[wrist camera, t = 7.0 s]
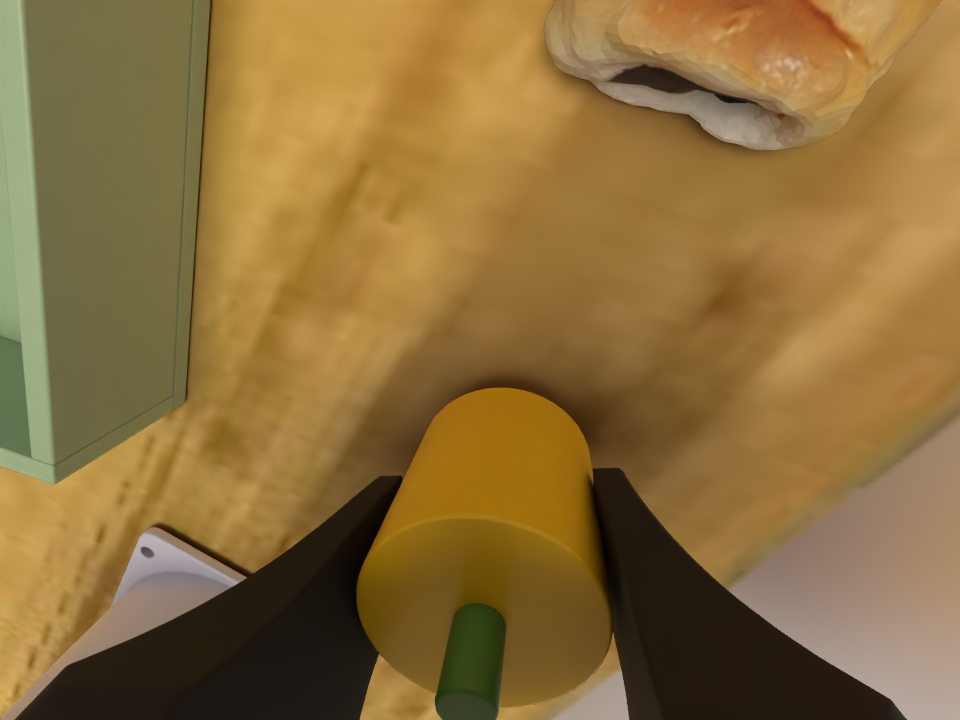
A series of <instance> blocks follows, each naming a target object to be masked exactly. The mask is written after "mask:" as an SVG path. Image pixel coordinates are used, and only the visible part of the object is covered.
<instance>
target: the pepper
mask: <svg viewBox="0 0 960 720" xmlns="http://www.w3.org/2000/svg"><path fill="white" fill-rule="evenodd" d="M356 602H357V609H358V615H359V618H360V621H361V624H362V627H363V629H364V631H365V633H366V635H367V637H368V638H369V640H370V641H371V643H372V644H373V646H374V647H375V649H376V650H377V651H378V652H379V654H380V655H381V656H382V657H383V658H384V659H385V660H386V661H387V662H388V663H389V664H390V665H391V666H392V667H393V668H394V669H396V670H397V671H398V672H399V673H401V674H402V675H403V676H405V677H406V678H408V679H409V680H411V681H412V682H414V683H416V684H417V685H419V686H421V687H423V688H425V689H427V690H429V691H431V692H433V693H436V697H435V706H436V711H437V713H438V715H439V716H440V717H441V719H442V720H496V718H497V716H498V712H499V707H502V708H508V707H523V706H530V705H536V704H540V703H544V702H547V701H551V700H553V699H556V698H559V697H561V696H563V695H565V694H567V693H569V692H571V691H573V690H575V689H576V688H577V687H579V686H580V685H582V684H583V683H584V682H586V681H587V680H588V679H589V678H590V677H591V676H592V675H593V674H594V673H595V672H596V670H597V669H598V668H599V666H600V665H601V664H602V662H603V660H604V658H605V656H606V654H607V652H608V649H609V646H610V643H611V639H612V633H613V614H612V606H611V599H610V592H609V585H608V578H607V571H606V564H605V557H604V550H603V543H602V536H601V530H600V525H599V520H598V514H597V507H596V500H595V493H594V484H593V472H592V465H591V458H590V453H589V449H588V445H587V442H586V440H585V437H584V435H583V434H582V432H581V430H580V428H579V427H578V425H577V424H576V423H575V422H574V420H573V419H572V418H571V417H570V416H569V415H568V414H567V413H566V412H565V411H564V410H563V409H561V408H560V407H558V406H557V405H556V404H554V403H553V402H551V401H549V400H547V399H546V398H544V397H541V396H539V395H537V394H534V393H531V392H528V391H524V390H520V389H513V388H487V389H482V390H478V391H474V392H471V393H468V394H465V395H463V396H461V397H459V398H457V399H455V400H454V401H452V402H451V403H449V404H448V405H446V406H445V407H444V408H443V409H442V410H441V411H440V412H439V413H438V414H437V415H436V417H435V418H434V419H433V420H432V422H431V424H430V426H429V427H428V429H427V431H426V433H425V435H424V438H423V440H422V442H421V444H420V446H419V448H418V450H417V452H416V454H415V456H414V458H413V461H412V463H411V465H410V467H409V469H408V471H407V473H406V475H405V477H404V479H403V481H402V484H401V486H400V488H399V490H398V492H397V494H396V496H395V498H394V500H393V502H392V504H391V507H390V509H389V511H388V513H387V515H386V517H385V519H384V521H383V523H382V525H381V528H380V530H379V532H378V534H377V536H376V538H375V540H374V542H373V544H372V546H371V548H370V551H369V553H368V555H367V557H366V559H365V561H364V563H363V565H362V568H361V571H360V573H359V576H358V582H357V587H356Z"/></svg>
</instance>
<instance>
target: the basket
mask: <svg viewBox="0 0 960 720" xmlns="http://www.w3.org/2000/svg"><path fill="white" fill-rule="evenodd" d="M209 15H210V0H0V466H1V467H4V468H7V469H10V470H13V471H16V472H19V473H22V474H24V475H27V476H30V477H33V478H36V479H39V480H42V481H45V482H47V483H50V484H57V483H58V482H60V481H61V480H63V479H65V478H66V477H68V476H69V475H71V474H73V473H74V472H76V471H77V470H79V469H81V468H82V467H84V466H85V465H87V464H88V463H90V462H92V461H93V460H95V459H96V458H98V457H100V456H101V455H103V454H104V453H106V452H108V451H109V450H111V449H112V448H114V447H115V446H117V445H119V444H120V443H122V442H123V441H125V440H127V439H128V438H130V437H131V436H133V435H135V434H136V433H138V432H139V431H141V430H142V429H144V428H146V427H147V426H149V425H150V424H152V423H154V422H155V421H157V420H158V419H160V418H161V417H163V416H165V415H166V414H168V413H169V412H171V411H172V409H175V408H177V407H178V406H180V405H182V404H183V403H184V402H185V395H186V379H187V364H188V348H189V332H190V316H191V300H192V284H193V269H194V253H195V237H196V221H197V205H198V189H199V174H200V158H201V142H202V126H203V110H204V94H205V79H206V63H207V47H208V31H209Z"/></svg>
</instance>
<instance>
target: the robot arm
mask: <svg viewBox="0 0 960 720" xmlns="http://www.w3.org/2000/svg"><path fill="white" fill-rule="evenodd" d="M402 481H403V479H402V476H380V477H378V478H377V479H375V480H374V481H373V482H372V483H370V484H369V485H368V486H367V487H365V488H364V489H363V490H362V491H361V492H359V493H358V494H357V495H356V496H355V497H354V498H352V499H351V500H350V501H349V502H348V503H347V504H345V505H344V506H343V507H342V508H341V509H339V510H338V511H337V512H336V513H335V514H333V515H332V516H331V517H330V518H329V519H327V520H326V521H325V522H324V523H323V524H321V525H320V526H319V527H317V528H316V529H315V530H314V531H312V532H311V533H310V534H308V535H307V536H306V537H305V538H303V539H302V540H301V541H299V542H298V543H297V544H295V545H294V546H293V547H292V548H290V549H289V550H288V551H286V552H285V553H283V554H282V555H281V556H279V557H278V558H276V559H275V560H273V561H272V562H271V563H269V564H268V565H266V566H265V567H263V568H261V569H260V570H258V571H257V572H255V573H254V574H252V575H251V576H249V577H248V578H247V577H245V576H244V575H242V574H240V573H238V572H236V571H235V570H233V569H231V568H229V567H228V566H226V565H224V564H222V563H220V562H219V561H217V560H215V559H213V558H212V557H210V556H208V555H206V554H205V553H203V552H201V551H199V550H197V549H196V548H194V547H192V546H190V545H189V544H187V543H185V542H183V541H181V540H180V539H178V538H176V537H174V536H173V535H171V534H169V533H167V532H165V531H164V530H162V529H159V528H154V527H151V528H148V529H147V530H146V531H145V532H144V533H143V534H142V535H141V536H140V537H139V540H138V542H137V544H136V547H135V549H134V552H133V554H132V556H131V559H130V561H129V564H128V566H127V568H126V571H125V573H124V576H123V578H122V580H121V583H120V585H119V588H118V590H117V592H116V595H115V597H114V600H113V602H112V604H111V607H110V609H109V610H108V611H107V612H106V613H105V614H104V615H103V616H102V617H101V618H100V619H99V620H98V621H97V622H95V623H94V624H93V625H92V626H91V627H90V628H89V629H88V630H87V631H86V632H85V633H84V634H83V635H82V636H81V637H80V638H79V639H78V640H77V641H76V642H75V643H74V644H73V645H72V646H71V647H70V648H69V649H68V650H67V651H66V652H65V653H64V654H63V655H62V656H61V657H60V658H59V659H58V660H57V661H56V662H55V663H54V664H53V665H52V666H51V667H50V668H49V669H48V670H47V671H46V672H45V673H44V674H43V675H42V676H41V677H40V678H39V679H38V680H37V681H36V682H35V683H34V684H33V685H32V686H31V687H30V688H29V689H28V690H27V691H26V692H25V693H24V694H23V695H22V696H21V697H20V698H19V699H18V700H17V701H16V702H15V703H14V704H13V705H12V706H11V707H10V708H9V709H8V710H7V711H6V712H5V713H4V714H3V715H2V716H1V717H0V720H359V719H360V715H361V711H362V708H363V704H364V700H365V696H366V693H367V689H368V685H369V682H370V679H371V676H372V673H373V670H374V667H375V664H376V661H377V658H378V655H379V652H378V651H377V650H376V649H375V647H374V646H373V644H372V643H371V641H370V640H369V638H368V637H367V635H366V633H365V631H364V629H363V627H362V624H361V621H360V618H359V615H358V609H357V602H356V587H357V582H358V576H359V573H360V571H361V568H362V565H363V563H364V561H365V559H366V557H367V555H368V553H369V551H370V548H371V546H372V544H373V542H374V540H375V538H376V536H377V534H378V532H379V530H380V528H381V525H382V523H383V521H384V519H385V517H386V515H387V513H388V511H389V509H390V507H391V504H392V502H393V500H394V498H395V496H396V494H397V492H398V490H399V488H400V486H401V484H402ZM593 484H594V493H595V500H596V507H597V514H598V520H599V525H600V530H601V536H602V543H603V550H604V557H605V564H606V571H607V578H608V585H609V592H610V599H611V606H612V614H613V633H614V638H615V642H616V647H617V651H618V656H619V660H620V665H621V669H622V674H623V680H624V686H625V691H626V697H627V705H628V713H629V720H907V719H906V718H905V717H904V716H903V715H902V713H901V712H900V711H899V709H898V708H897V707H896V706H895V704H894V703H893V702H892V701H891V700H890V699H889V698H887V697H885V696H884V695H882V694H880V693H879V692H877V691H875V690H874V689H872V688H870V687H868V686H866V685H865V684H863V683H862V682H860V681H858V680H857V679H855V678H853V677H852V676H850V675H848V674H847V673H845V672H843V671H841V670H840V669H838V668H836V667H835V666H833V665H831V664H829V663H828V662H826V661H825V660H823V659H821V658H820V657H818V656H817V655H815V654H814V653H812V652H811V651H809V650H808V649H806V648H805V647H803V646H802V645H800V644H799V643H797V642H796V641H794V640H792V639H791V638H790V637H788V636H787V635H785V634H784V633H782V632H781V631H779V630H778V629H777V628H775V627H774V626H773V625H771V624H770V623H769V622H767V621H766V620H765V619H763V618H762V617H761V616H760V615H758V614H757V613H756V612H754V611H753V610H752V609H750V608H749V607H748V606H746V605H745V604H744V603H742V602H741V601H740V600H739V599H737V598H736V597H735V596H734V595H733V594H731V593H730V592H729V591H728V590H727V589H726V588H724V587H723V586H722V585H721V584H720V583H719V582H717V581H716V580H715V579H714V578H713V577H712V576H711V575H710V574H709V573H708V572H706V571H705V570H704V569H703V568H702V567H701V566H700V565H699V564H698V563H697V562H696V561H695V560H694V559H693V558H692V557H691V556H690V555H689V554H688V553H687V552H686V551H685V550H684V549H683V548H682V547H681V546H680V545H679V543H678V542H677V541H676V540H675V539H674V538H673V537H672V536H671V535H670V534H669V533H668V531H667V530H666V529H665V528H664V527H663V526H662V524H661V523H660V522H659V521H658V520H657V518H656V517H655V516H654V515H653V513H652V512H651V511H650V510H649V509H648V507H647V506H646V505H645V503H644V502H643V501H642V499H641V498H640V497H639V495H638V494H637V492H636V491H635V490H634V488H633V487H632V485H631V484H630V482H629V480H628V479H627V477H626V476H625V474H624V472H623V471H622V470H621V469H619V468H601V469H593Z"/></svg>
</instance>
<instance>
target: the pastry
mask: <svg viewBox="0 0 960 720" xmlns="http://www.w3.org/2000/svg"><path fill="white" fill-rule="evenodd" d="M941 1H942V0H557V1H556V3H555V5H554V6H553V8H552V9H551V11H550V13H549V14H548V16H547V18H546V20H545V24H544V37H545V45H546V48H547V51H548V53H549V54H550V56H551V58H552V60H553V62H554V64H555V65H556V67H557V68H558V69H559V70H560V71H562V72H564V73H567V74H570V75H573V76H576V77H579V78H582V79H586V80H589V81H590V82H591V83H593V84H594V85H595V86H596V87H597V88H598V89H599V90H600V91H601V92H602V93H604V94H606V95H608V96H610V97H612V98H614V99H617V100H620V101H623V102H625V103H628V104H630V105H636V106H646V107H651V108H654V109H656V110H660V111H666V112H672V113H684V114H689V115H690V116H691V117H692V118H694V119H695V120H696V121H697V122H699V123H700V124H701V127H702V128H703V129H705V130H706V131H707V132H709V133H710V134H711V135H713V136H714V137H716V138H718V139H720V140H722V141H724V142H730V143H735V144H738V145H742V146H744V147H747V148H749V149H751V150H779V149H788V148H793V147H797V146H802V145H805V144H808V143H812V142H815V141H818V140H821V139H824V138H826V137H829V136H831V135H833V134H835V133H837V132H838V131H840V130H841V129H842V128H843V127H844V126H845V125H846V124H847V123H848V120H849V118H850V116H851V114H852V112H853V111H854V110H855V108H856V107H857V106H858V105H859V104H860V103H861V102H862V100H863V98H864V96H865V94H866V92H867V91H868V89H869V88H870V87H871V85H872V84H873V83H874V82H875V81H876V80H877V79H879V78H880V77H881V76H883V75H884V74H885V73H886V71H887V70H888V69H889V68H890V66H891V65H892V63H893V61H894V60H895V58H896V57H897V55H898V54H899V53H900V51H901V50H902V49H903V48H904V46H905V45H906V44H907V42H908V41H909V39H910V38H911V37H912V36H913V35H914V34H915V33H916V32H917V31H918V30H919V29H920V27H921V26H922V25H923V24H924V23H925V22H926V20H927V19H928V18H929V17H930V16H931V15H932V13H933V12H934V11H935V9H936V8H937V7H938V5H939V4H940V3H941Z"/></svg>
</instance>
